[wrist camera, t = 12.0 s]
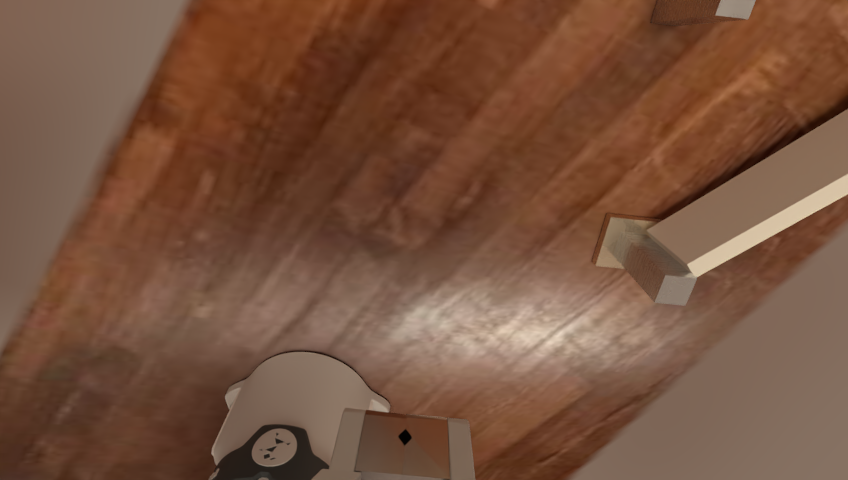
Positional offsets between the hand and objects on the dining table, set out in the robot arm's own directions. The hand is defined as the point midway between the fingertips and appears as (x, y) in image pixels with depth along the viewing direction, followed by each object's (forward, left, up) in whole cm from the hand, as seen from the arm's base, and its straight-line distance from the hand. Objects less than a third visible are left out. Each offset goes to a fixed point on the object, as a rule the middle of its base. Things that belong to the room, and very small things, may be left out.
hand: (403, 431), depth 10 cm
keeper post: (+14, -17, -29) cm, 36 cm away
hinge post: (-6, -20, -29) cm, 36 cm away
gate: (+2, -28, -27) cm, 39 cm away
